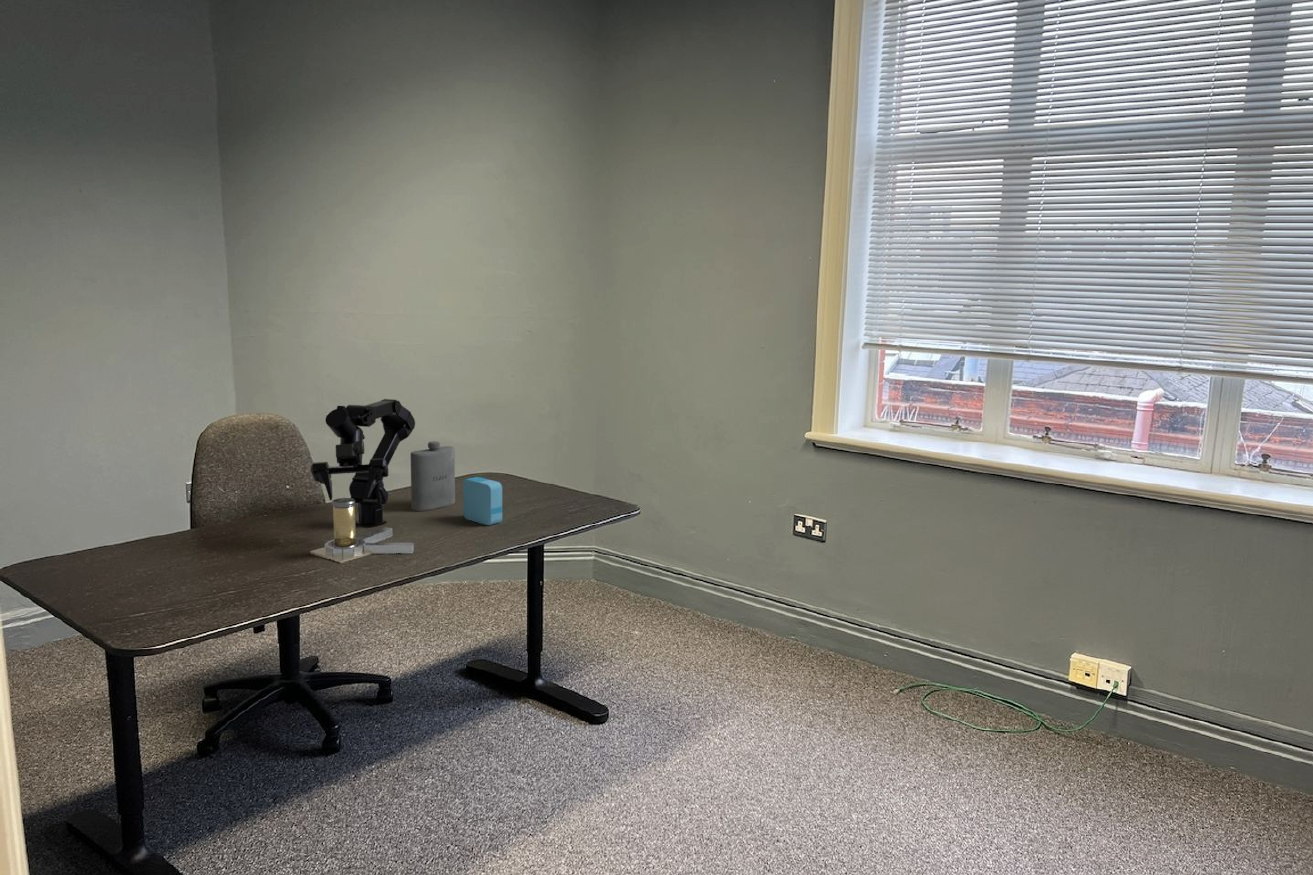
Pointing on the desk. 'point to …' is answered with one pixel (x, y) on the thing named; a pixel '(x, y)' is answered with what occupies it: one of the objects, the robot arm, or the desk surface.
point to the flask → (432, 477)
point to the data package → (482, 500)
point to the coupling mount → (364, 547)
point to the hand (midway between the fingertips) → (349, 498)
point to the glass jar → (344, 523)
